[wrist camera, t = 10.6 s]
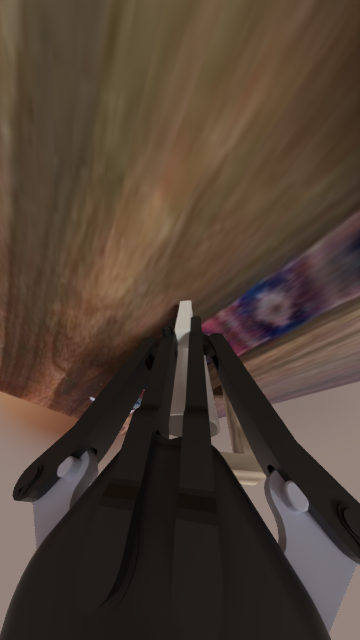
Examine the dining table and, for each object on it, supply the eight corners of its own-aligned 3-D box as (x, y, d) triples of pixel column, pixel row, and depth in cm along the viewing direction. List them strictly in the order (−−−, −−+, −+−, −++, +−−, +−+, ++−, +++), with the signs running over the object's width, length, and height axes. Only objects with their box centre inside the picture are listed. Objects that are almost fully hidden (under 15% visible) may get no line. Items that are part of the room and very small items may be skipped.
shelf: (153, 356, 27) (120, 458, 15) (231, 354, 25) (270, 473, 12) (161, 379, 32) (141, 472, 19) (228, 380, 29) (254, 485, 17)
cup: (193, 371, 29) (193, 442, 19) (163, 356, 27) (145, 426, 17) (218, 352, 25) (234, 429, 15) (185, 332, 23) (179, 406, 13)
